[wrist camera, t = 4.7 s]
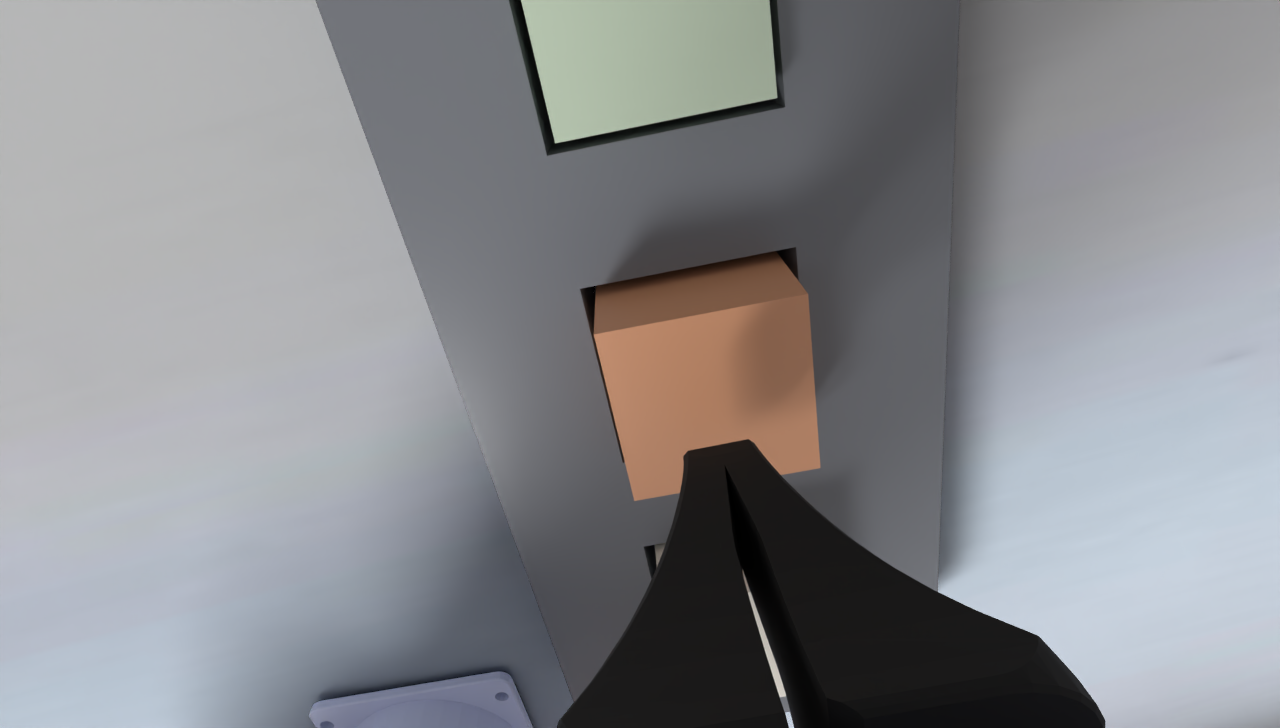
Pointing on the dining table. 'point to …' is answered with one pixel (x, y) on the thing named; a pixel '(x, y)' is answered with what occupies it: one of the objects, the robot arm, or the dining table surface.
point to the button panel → (671, 266)
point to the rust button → (708, 367)
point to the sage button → (647, 60)
